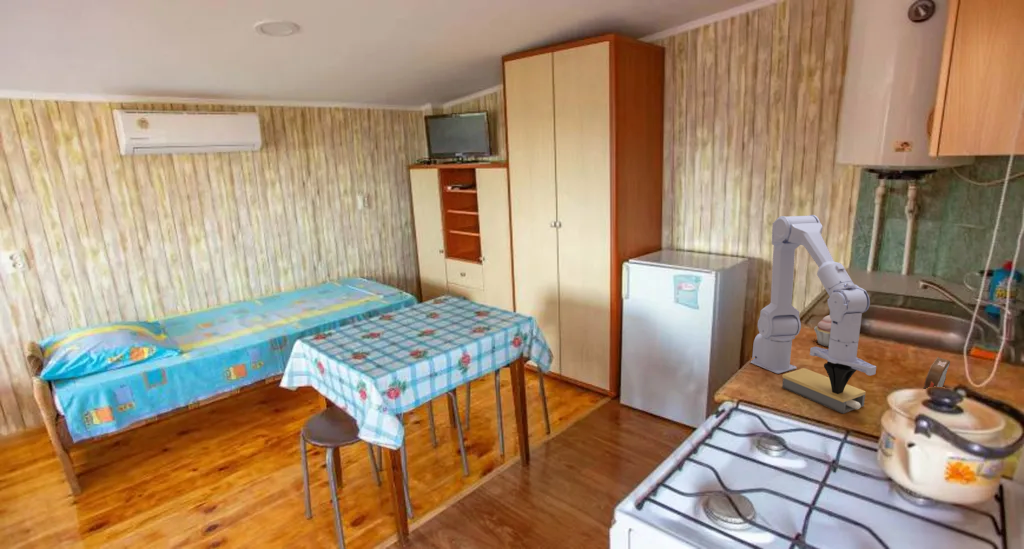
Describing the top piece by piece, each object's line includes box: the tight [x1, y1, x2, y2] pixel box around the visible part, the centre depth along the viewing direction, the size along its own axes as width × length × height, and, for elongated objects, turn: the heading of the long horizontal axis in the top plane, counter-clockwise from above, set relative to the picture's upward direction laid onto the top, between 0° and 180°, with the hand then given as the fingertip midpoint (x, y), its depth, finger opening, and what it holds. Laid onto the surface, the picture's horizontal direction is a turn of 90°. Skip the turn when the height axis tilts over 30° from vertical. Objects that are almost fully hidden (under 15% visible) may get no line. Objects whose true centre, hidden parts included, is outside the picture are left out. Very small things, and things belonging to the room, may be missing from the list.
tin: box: [922, 356, 951, 390], centre depth 131 cm, size 15×3×8 cm, turn 133°
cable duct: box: [781, 378, 866, 414], centre depth 131 cm, size 18×8×3 cm, turn 26°
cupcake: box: [814, 314, 832, 348], centre depth 164 cm, size 9×9×10 cm
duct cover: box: [782, 367, 867, 402], centre depth 130 cm, size 16×8×1 cm, turn 26°
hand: (837, 392), depth 125 cm, fingers closed, pressing on duct cover
